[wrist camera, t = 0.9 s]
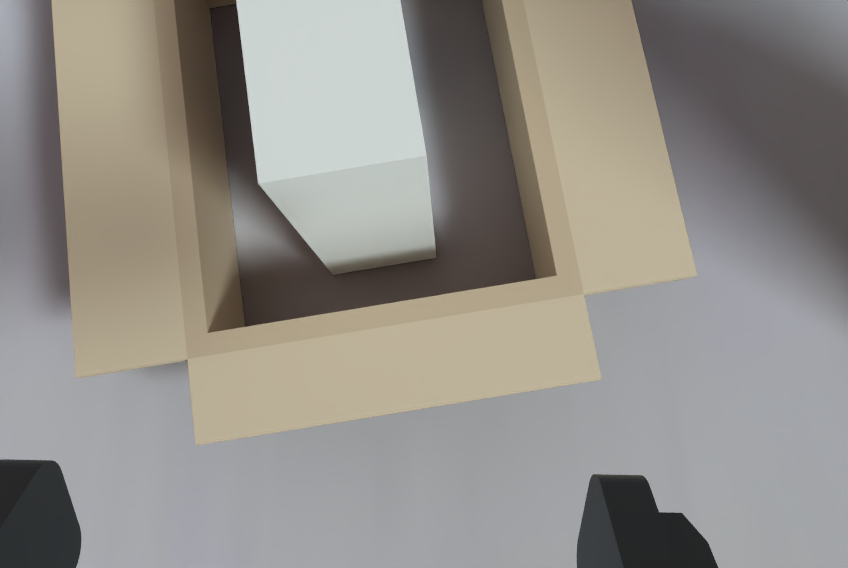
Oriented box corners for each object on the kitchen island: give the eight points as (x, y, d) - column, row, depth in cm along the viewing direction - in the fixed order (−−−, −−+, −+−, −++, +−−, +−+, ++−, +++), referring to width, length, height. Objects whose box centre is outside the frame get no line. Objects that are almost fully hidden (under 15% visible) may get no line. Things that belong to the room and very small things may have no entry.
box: (398, 27, 33) (367, -196, 21) (436, 257, 31) (426, 155, 19) (301, 43, 33) (215, -170, 21) (333, 274, 31) (257, 183, 19)
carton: (561, -124, 34) (579, -217, 29) (673, 370, 29) (717, 360, 24) (102, -47, 34) (43, -126, 29) (143, 456, 29) (81, 463, 25)
